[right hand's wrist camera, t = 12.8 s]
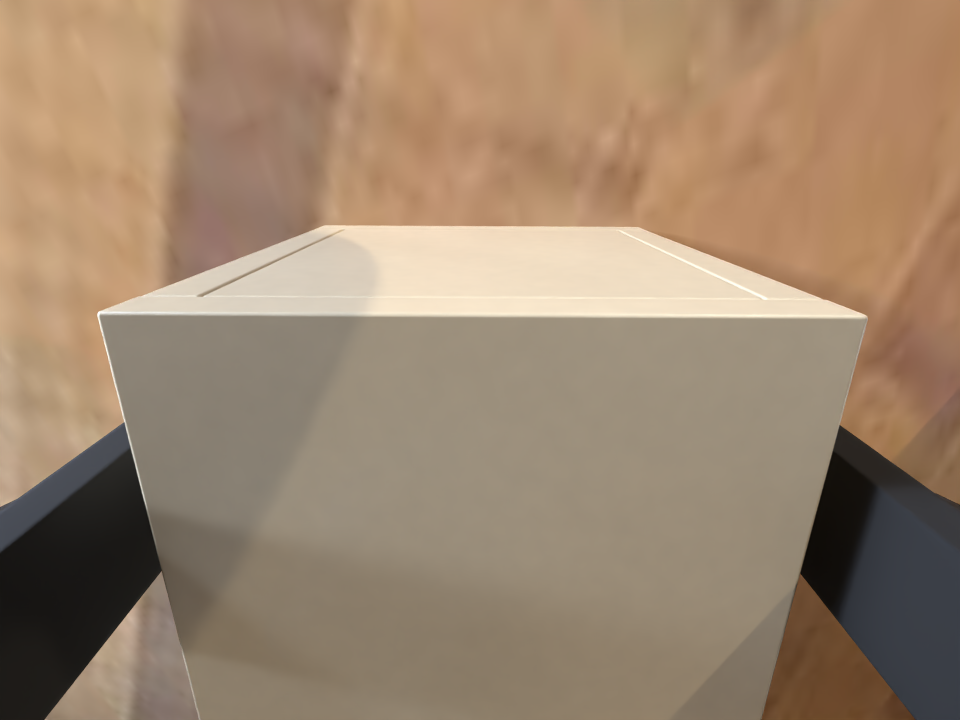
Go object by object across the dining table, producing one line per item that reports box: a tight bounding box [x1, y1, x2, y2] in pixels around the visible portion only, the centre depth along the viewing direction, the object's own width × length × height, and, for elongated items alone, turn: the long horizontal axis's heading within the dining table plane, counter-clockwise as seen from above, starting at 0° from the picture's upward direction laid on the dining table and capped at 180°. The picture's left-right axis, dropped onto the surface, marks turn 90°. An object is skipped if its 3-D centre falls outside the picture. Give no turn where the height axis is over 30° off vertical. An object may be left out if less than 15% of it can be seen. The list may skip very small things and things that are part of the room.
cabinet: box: [98, 226, 868, 720], centre depth 16 cm, size 22×10×11 cm, turn 0°
